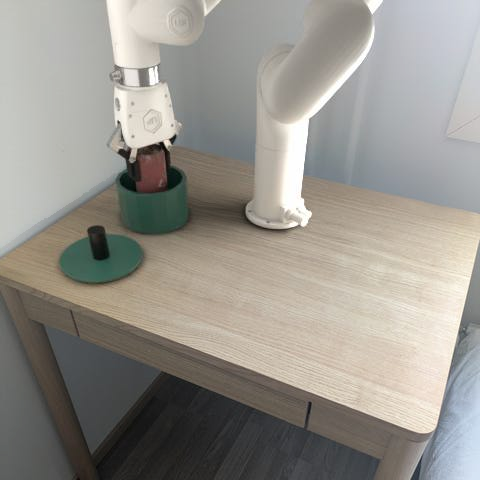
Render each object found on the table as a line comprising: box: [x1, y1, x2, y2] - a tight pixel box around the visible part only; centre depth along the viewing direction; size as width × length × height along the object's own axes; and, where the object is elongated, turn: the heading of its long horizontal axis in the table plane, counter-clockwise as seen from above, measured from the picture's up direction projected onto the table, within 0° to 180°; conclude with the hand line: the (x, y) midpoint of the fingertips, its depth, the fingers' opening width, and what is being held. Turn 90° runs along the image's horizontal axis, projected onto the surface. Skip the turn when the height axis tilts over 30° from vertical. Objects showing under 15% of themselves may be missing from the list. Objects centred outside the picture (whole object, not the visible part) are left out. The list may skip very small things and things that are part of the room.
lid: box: [59, 224, 143, 284], centre depth 88 cm, size 15×15×7 cm
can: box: [135, 143, 168, 193], centre depth 97 cm, size 6×6×14 cm
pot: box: [114, 164, 190, 235], centre depth 99 cm, size 14×14×8 cm
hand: (150, 173), depth 95 cm, fingers closed on can, 6 cm apart
